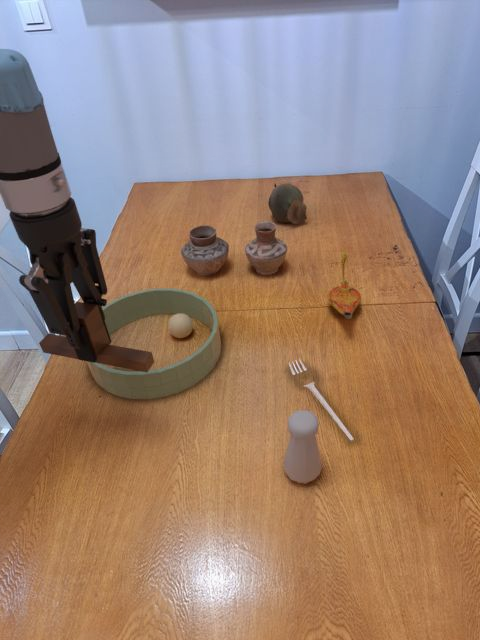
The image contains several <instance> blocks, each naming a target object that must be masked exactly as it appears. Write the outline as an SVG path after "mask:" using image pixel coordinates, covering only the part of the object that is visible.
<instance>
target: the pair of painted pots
mask: <svg viewBox="0 0 480 640" xmlns="http://www.w3.org/2000/svg"><path fill="white" fill-rule="evenodd" d="M253 228H254V229H253V230H254V232H255V236H256V238H253V239H252V240H250V241H249V242H248V243H247V244H246V245H245V247H244V252H245V256H246V259H247V260H248V262H249V263H250V265H251V266H252V267H253V268H254V269H255V272H256V273H257V274H259V275H263V276H270V275H273V274H275V273H277V272H278V271H279V267H280V266H281V265H282V264H283V263H284V261H285V258H286V255H287V253H288V244H287V243H286V242H284V240H281V239H280V238H278V237H276V231H277V224H276V223H275V222H273V221H269V220H266V221H265V220H264V221H260V222H257V223H256V224H255V225H254V226H253ZM188 236H189V241H187V242H186V243H185V244H183V246H182V248H181V250H180V253H181V254H180V255H181V257H182V259H183V261H184V263H185V264H186V265H187V266H188V267H189V268H190V269H192V270H193V271H195V273H196V274H197V275H199V276H211V275H212V276H213V275H214V274H216V273H218V272H219V271H220V269H221V268H222V267H223V266H224V265H225V263H226V261H227V259H228V256H229V250H230V245H229V243H228V242H227V241H226V240H224V239H223V238H221V237H218V236H217V229H216V228H215V227H214V226H211V225H205V224H204V225H198V226H194V227H192V228H191V229H190V230H189V232H188Z"/></svg>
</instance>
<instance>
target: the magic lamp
mask: <svg viewBox="0 0 480 640" xmlns="http://www.w3.org/2000/svg"><path fill="white" fill-rule="evenodd" d="M341 258H342V259H341V260H340V262H341V263H340V264H341V265H340V266H341V268H340V269H341V278H342V281H341V282H340V284H341V285H339V286H337V287H333V288H332V289H331V290H330V291H329V292H328V295H327V301H328V303H329V304H330V306H332V307H333V309H335V310H336V311H337V312H338V314H341V315H342V316H343V317H344V318H345V319H352V318H353V314H354V312H355V311H356V309H357V307H358V306H359V305H360V303H361V301H362V295H361V293H360V292H359V290H357V289H356V288H354V287H351V286H350V285H349V284H350V282H348V280H346V279H345V265H346V261H347V260H348V258H349V254H348V253H347V252H346V251H343V252H342V254H341Z"/></svg>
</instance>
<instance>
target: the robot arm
mask: <svg viewBox="0 0 480 640" xmlns="http://www.w3.org/2000/svg"><path fill="white" fill-rule="evenodd" d="M43 96H44V95H43V94H42V93H41V91H40V90H39V87H38V84H37V82H36V78H35V76H34V74H33V71H32V69H31V66H30V63H29V61H28V59H27V58H26V57H25V55H24V54H22V53H21V52H19V51H17V50H14V49H10V48H0V197H1V199H2V202H3V204H4V206H5V209H6V210H8V211H9V218H10V220H11V223H12V225H13V228H14V230H15V233H16V235H17V237H18V239H19V241H20V242H21V243H23V244H24V246H25V247H26V248H27V249H28V252H29V262H30V264H31V268H30V269H29V272H28V273H27V274H21V275H19V278H18V282H19V284H20V285H21V286H22V287H23V288H24V289H25V290H27V291H28V292H29V294H30V296H31V298H32V300H33V303H34V304H35V306H36V308H37V310H38V311H39V313H40V315H41V317H42V319H43V321H44V323H45V326H46V327H47V329H48V331H49V333H50V334H54V335H60V336H65V337H67V340H68V342H69V345H70V346H71V347H72V348H74V349H75V352H76V354H77V357H78V359H77V360H78V361H82V362H83V361H84V362H87V361H88V362H93V363H95V362H96V361H97V357H96V355H95V353H94V350H93V347H92V344H91V342H90V339H89V336H88V334H87V331H86V328H85V326H84V325H79V320H78V316H77V311H76V307H75V303H76V302H75V299H74V295H73V289H72V286H71V285H72V284H73V286H74V287H75V289H76V291H77V293H78V295H79V297H80V298H81V301H82V302H83V303H89V304H95V305H97V306H98V308H99V311H100V314H101V317H102V320H103V323H104V326H105V329H106V332H107V335H108V338H109V341H110V342H109V345H111V343H112V339H111V335H109V333H108V330H107V327H106V324H105V315H104V312H103V309H102V308H103V307H104V306H106V305H107V304H108V300H107V299H106V298H103V296H106V295H107V294H108V286H107V282H106V279H105V274H104V270H103V266H102V262H101V260H100V256H99V255H100V254H99V251H98V248H97V247H98V246H97V232H96V230H95V229H93V228H86V227H85V228H83V227H82V225H83V223H82V220H81V217H80V213H79V211H78V206H77V204H76V201H75V199H74V198H73V197H71V196H72V190H71V186H70V184H69V181H68V178H67V175H66V173H65V169H64V167H63V163H62V159H61V156H60V153H59V152H58V147H57V145H56V142H55V138H54V135H53V131H52V129H51V124H50V121H49V117H48V114H47V110H46V107H45V106H46V105H45V102H44V97H43Z"/></svg>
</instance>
